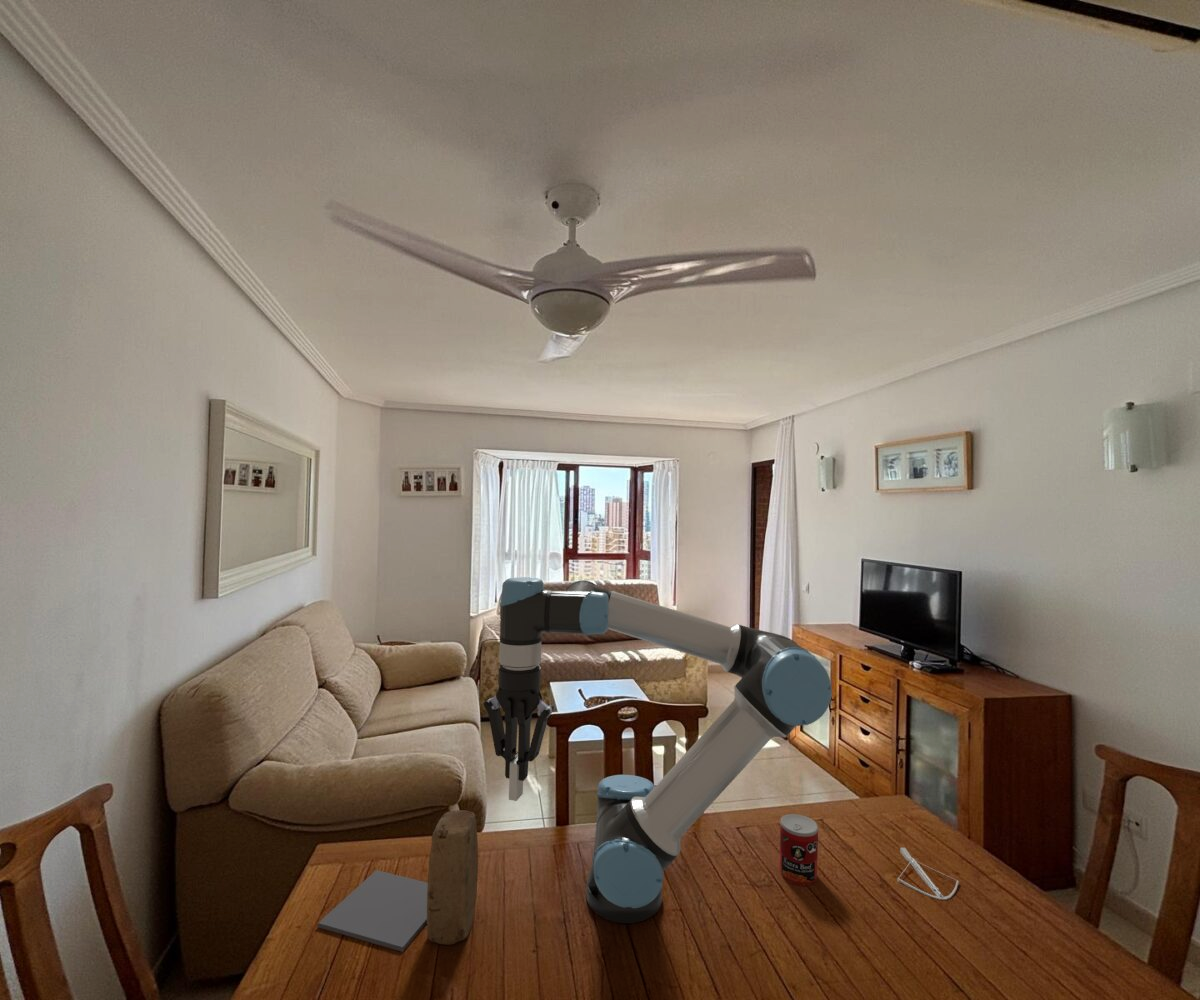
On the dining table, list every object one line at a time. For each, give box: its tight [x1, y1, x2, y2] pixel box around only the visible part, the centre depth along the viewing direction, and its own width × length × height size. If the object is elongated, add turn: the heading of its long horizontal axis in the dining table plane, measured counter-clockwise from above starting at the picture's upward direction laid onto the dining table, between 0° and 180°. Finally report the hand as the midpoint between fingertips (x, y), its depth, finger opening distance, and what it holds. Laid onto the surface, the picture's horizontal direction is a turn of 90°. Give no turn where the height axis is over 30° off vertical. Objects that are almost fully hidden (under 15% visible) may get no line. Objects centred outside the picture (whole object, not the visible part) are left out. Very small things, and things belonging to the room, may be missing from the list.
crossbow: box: [897, 847, 960, 901], centre depth 123 cm, size 16×13×2 cm
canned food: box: [779, 813, 819, 886], centre depth 122 cm, size 8×8×11 cm
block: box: [426, 809, 479, 946], centre depth 105 cm, size 11×8×20 cm
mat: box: [317, 869, 428, 953], centre depth 109 cm, size 18×16×1 cm
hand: (515, 796), depth 102 cm, fingers closed
